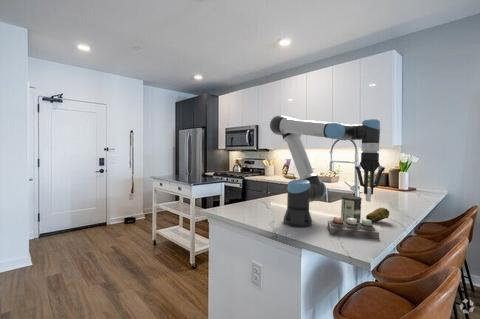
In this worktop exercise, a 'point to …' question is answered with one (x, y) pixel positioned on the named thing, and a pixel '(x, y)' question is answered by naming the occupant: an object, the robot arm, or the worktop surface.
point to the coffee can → (351, 208)
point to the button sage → (366, 222)
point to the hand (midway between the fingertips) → (368, 200)
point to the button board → (353, 230)
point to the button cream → (351, 220)
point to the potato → (378, 215)
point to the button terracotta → (337, 219)
